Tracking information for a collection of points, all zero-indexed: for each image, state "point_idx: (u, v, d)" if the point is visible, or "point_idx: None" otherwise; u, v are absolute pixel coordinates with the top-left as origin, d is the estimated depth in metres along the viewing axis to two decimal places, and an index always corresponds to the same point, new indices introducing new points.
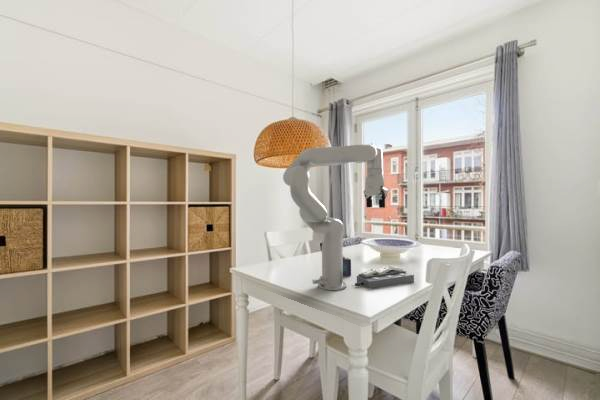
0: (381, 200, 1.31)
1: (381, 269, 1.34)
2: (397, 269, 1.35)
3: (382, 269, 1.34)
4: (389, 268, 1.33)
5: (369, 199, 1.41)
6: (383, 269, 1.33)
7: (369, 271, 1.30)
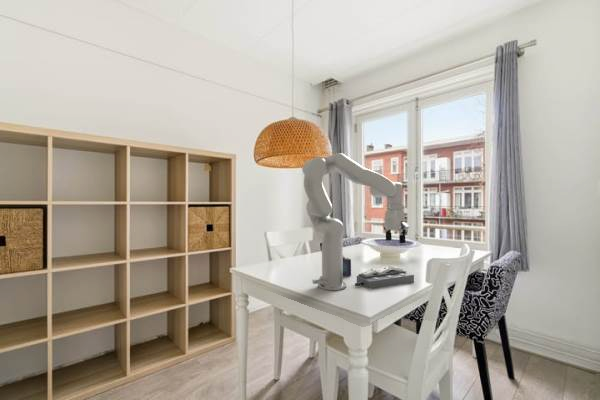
0: (402, 236, 1.32)
1: (381, 269, 1.34)
2: (397, 269, 1.35)
3: (382, 269, 1.34)
4: (389, 268, 1.33)
5: (388, 232, 1.41)
6: (383, 269, 1.33)
7: (369, 271, 1.30)
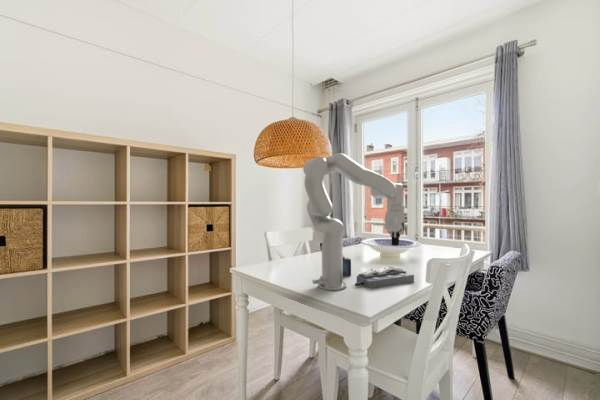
0: (395, 238, 1.36)
1: (381, 269, 1.34)
2: (397, 269, 1.35)
3: (382, 269, 1.34)
4: (389, 268, 1.33)
5: None
6: (383, 269, 1.33)
7: (369, 271, 1.30)
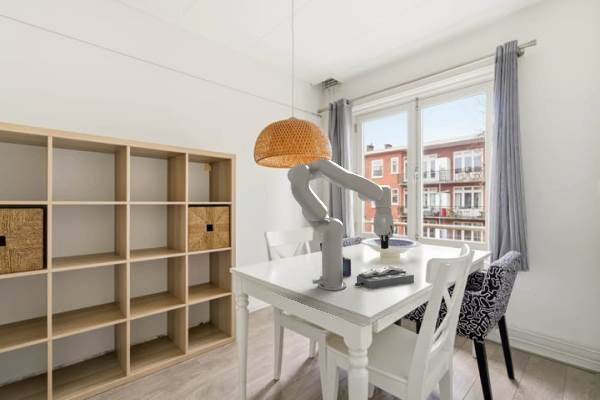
0: (384, 241, 1.33)
1: (381, 269, 1.34)
2: (397, 269, 1.35)
3: (382, 269, 1.34)
4: (389, 268, 1.33)
5: None
6: (383, 269, 1.33)
7: (369, 271, 1.30)
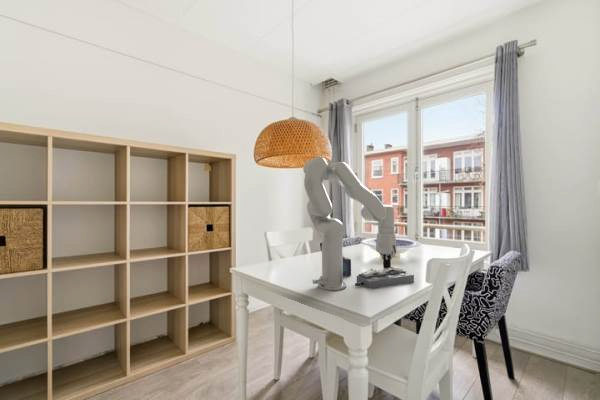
0: (387, 261, 1.34)
1: (381, 269, 1.34)
2: (397, 269, 1.35)
3: (382, 269, 1.34)
4: (389, 268, 1.33)
5: None
6: (383, 269, 1.33)
7: (369, 271, 1.30)
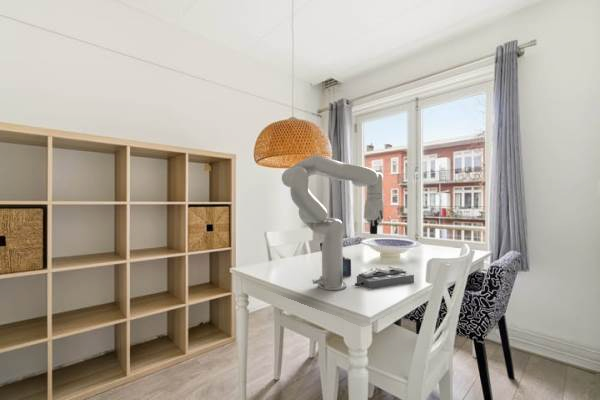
0: (373, 227, 1.36)
1: (382, 269, 1.34)
2: (397, 269, 1.35)
3: (383, 269, 1.34)
4: None
5: None
6: (384, 269, 1.34)
7: (369, 271, 1.30)
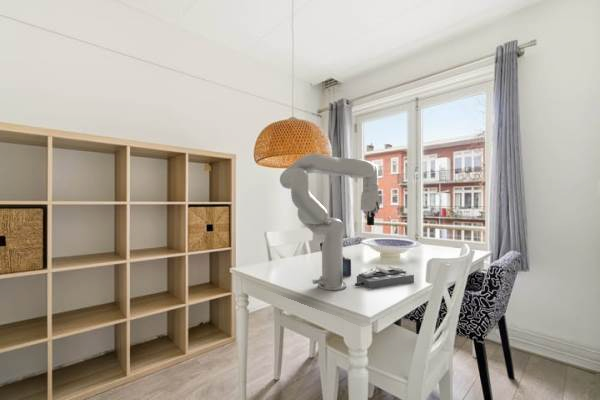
0: (370, 218, 1.38)
1: None
2: (397, 269, 1.35)
3: None
4: (389, 272, 1.34)
5: None
6: None
7: (369, 271, 1.30)
